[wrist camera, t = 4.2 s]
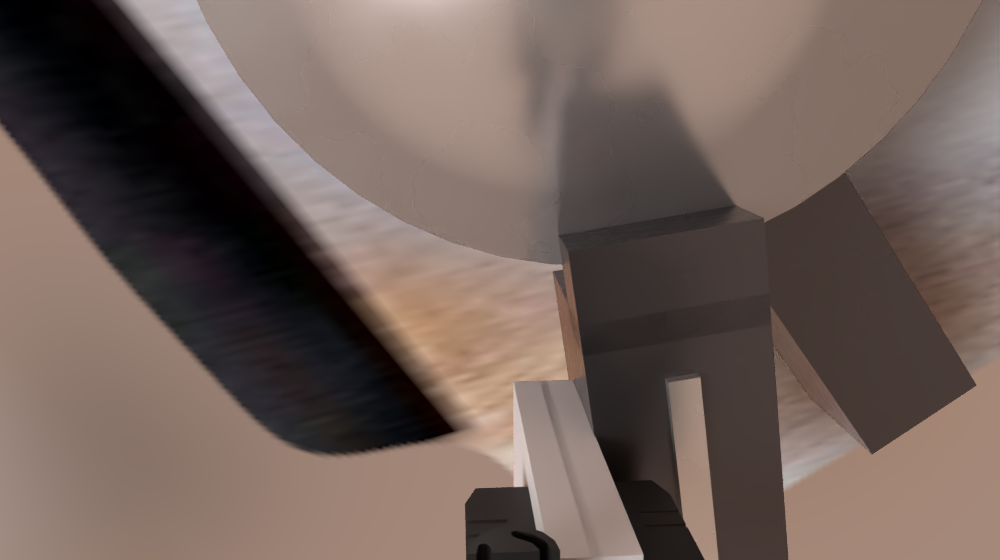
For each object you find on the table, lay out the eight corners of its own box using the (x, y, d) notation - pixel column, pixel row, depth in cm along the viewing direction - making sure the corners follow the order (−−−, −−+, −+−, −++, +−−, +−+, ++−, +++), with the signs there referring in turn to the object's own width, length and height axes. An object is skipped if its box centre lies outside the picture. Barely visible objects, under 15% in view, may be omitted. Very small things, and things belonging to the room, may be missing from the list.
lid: (944, -665, 13) (1182, -1032, 9) (951, 498, 20) (1094, 620, 15) (99, -528, 13) (-81, -829, 9) (372, 598, 20) (345, 751, 15)
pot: (603, -480, 20) (693, -838, 12) (998, 214, 25) (1235, 274, 18) (190, -121, 21) (38, -233, 14) (645, 458, 27) (718, 611, 19)
